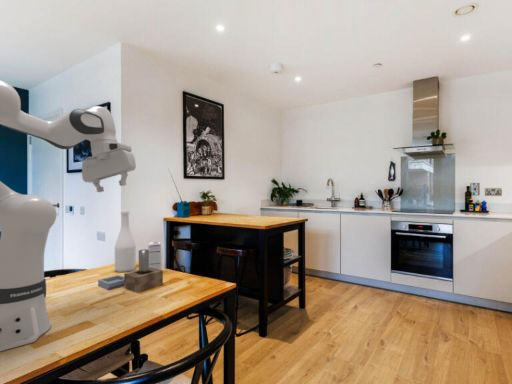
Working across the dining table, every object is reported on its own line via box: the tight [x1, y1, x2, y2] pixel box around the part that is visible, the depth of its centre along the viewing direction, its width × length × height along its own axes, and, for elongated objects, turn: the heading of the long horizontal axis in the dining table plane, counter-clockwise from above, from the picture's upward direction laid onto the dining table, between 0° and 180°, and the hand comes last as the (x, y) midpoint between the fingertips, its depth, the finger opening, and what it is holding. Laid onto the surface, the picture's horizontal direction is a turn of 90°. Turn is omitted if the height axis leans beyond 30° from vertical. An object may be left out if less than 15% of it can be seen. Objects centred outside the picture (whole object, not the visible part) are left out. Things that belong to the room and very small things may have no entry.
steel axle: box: [138, 248, 149, 275], centre depth 124 cm, size 4×4×15 cm
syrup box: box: [147, 241, 162, 270], centre depth 145 cm, size 6×6×14 cm
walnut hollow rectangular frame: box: [123, 267, 164, 293], centre depth 124 cm, size 12×9×6 cm
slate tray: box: [97, 274, 124, 291], centre depth 126 cm, size 9×9×2 cm
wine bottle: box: [114, 209, 137, 273], centre depth 149 cm, size 10×10×30 cm
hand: (111, 188), depth 106 cm, fingers open, 8 cm apart
